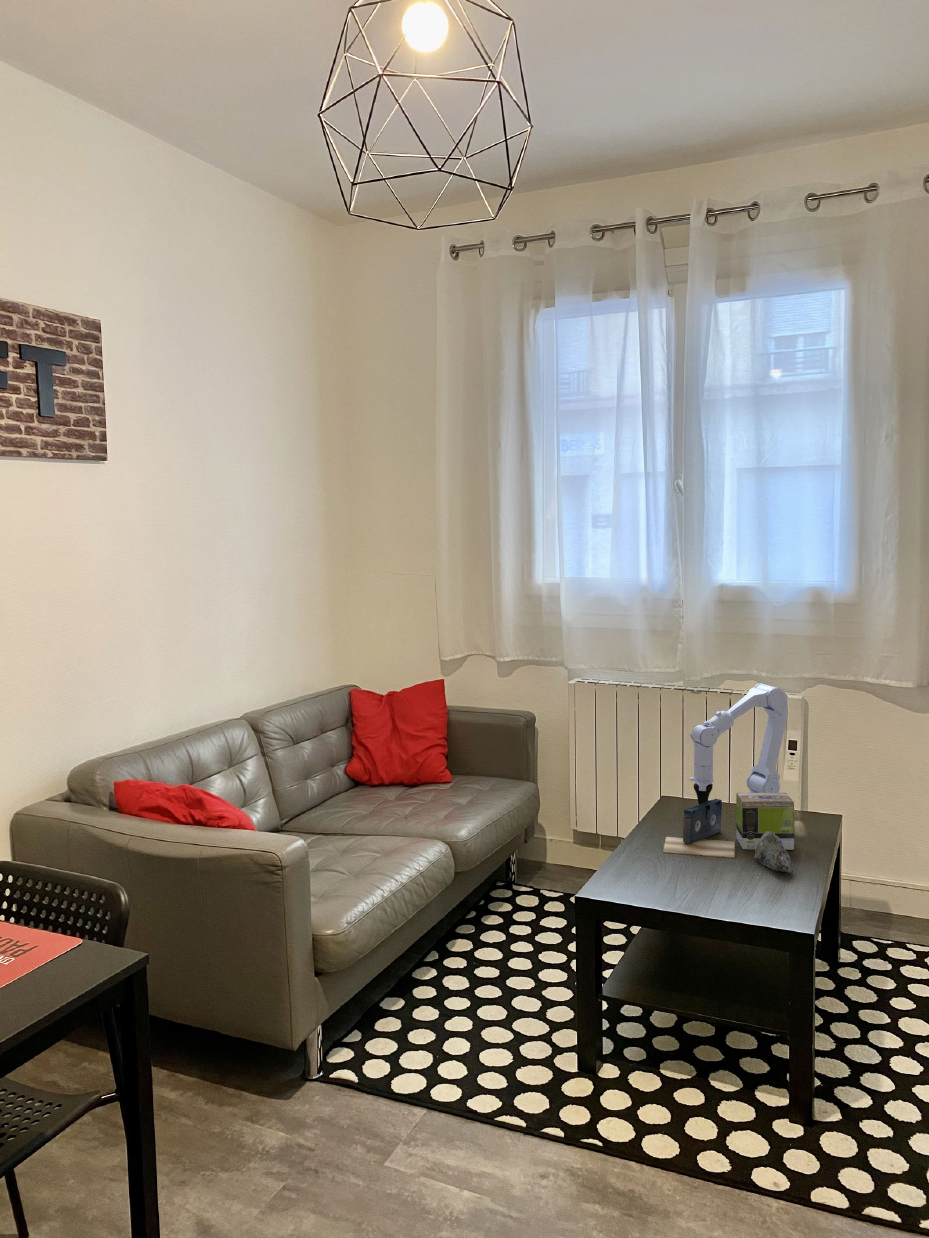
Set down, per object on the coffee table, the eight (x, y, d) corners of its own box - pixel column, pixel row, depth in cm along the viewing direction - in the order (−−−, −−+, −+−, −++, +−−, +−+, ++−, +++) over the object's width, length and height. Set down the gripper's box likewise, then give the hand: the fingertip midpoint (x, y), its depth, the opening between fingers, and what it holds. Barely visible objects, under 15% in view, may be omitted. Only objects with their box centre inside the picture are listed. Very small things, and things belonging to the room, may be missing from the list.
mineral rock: (792, 879, 262) (792, 843, 261) (750, 874, 266) (751, 838, 265) (794, 863, 274) (795, 828, 273) (754, 858, 278) (755, 824, 277)
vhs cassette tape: (713, 829, 304) (715, 797, 303) (722, 831, 301) (723, 800, 300) (680, 842, 291) (682, 809, 290) (689, 844, 289) (691, 811, 288)
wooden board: (666, 837, 297) (666, 836, 296) (734, 842, 291) (734, 841, 291) (663, 852, 284) (663, 851, 284) (734, 858, 278) (734, 857, 278)
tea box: (786, 839, 293) (787, 791, 292) (794, 851, 283) (795, 801, 282) (735, 838, 295) (736, 791, 293) (741, 850, 285) (742, 800, 283)
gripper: (691, 758, 308) (690, 799, 310) (689, 769, 294) (688, 813, 296) (714, 759, 306) (713, 801, 308) (713, 771, 292) (712, 815, 294)
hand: (702, 807), depth 302 cm, fingers closed
